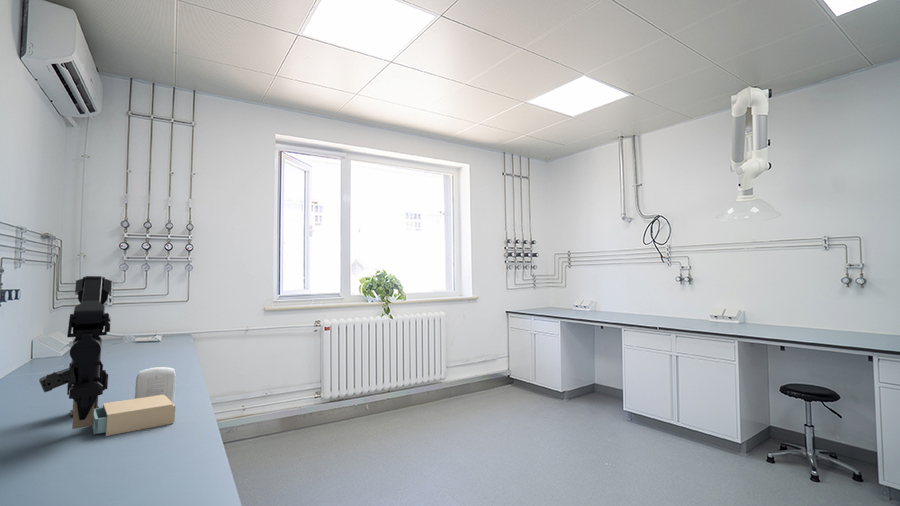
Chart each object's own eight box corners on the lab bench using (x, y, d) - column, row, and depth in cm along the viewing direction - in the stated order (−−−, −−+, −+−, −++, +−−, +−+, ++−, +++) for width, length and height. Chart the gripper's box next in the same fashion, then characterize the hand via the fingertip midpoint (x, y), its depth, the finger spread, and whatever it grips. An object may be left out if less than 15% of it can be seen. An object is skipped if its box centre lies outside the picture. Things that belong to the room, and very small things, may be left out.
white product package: (174, 403, 134) (176, 364, 135) (174, 407, 130) (176, 366, 131) (134, 408, 128) (136, 368, 129) (133, 412, 125) (135, 370, 126)
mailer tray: (71, 426, 110) (73, 397, 111) (153, 412, 123) (155, 386, 123) (72, 438, 102) (74, 407, 102) (161, 421, 114) (162, 394, 114)
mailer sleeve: (101, 422, 115) (103, 403, 116) (164, 411, 125) (165, 394, 126) (106, 435, 105) (107, 414, 106) (174, 423, 115) (175, 403, 116)
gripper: (43, 356, 110) (39, 417, 109) (42, 366, 96) (37, 436, 95) (98, 352, 117) (95, 408, 116) (105, 360, 104) (100, 425, 103)
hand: (82, 418), depth 107 cm, fingers closed on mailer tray
